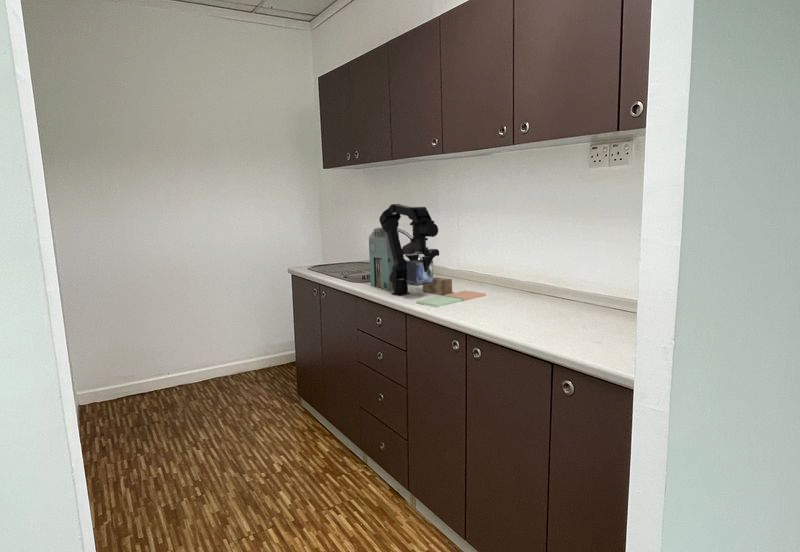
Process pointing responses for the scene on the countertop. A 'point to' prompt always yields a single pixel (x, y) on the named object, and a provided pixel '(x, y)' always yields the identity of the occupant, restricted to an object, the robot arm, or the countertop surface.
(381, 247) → the device
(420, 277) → the small box
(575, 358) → the countertop surface
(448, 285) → the brown wooden block
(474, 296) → the green and salmon panel
